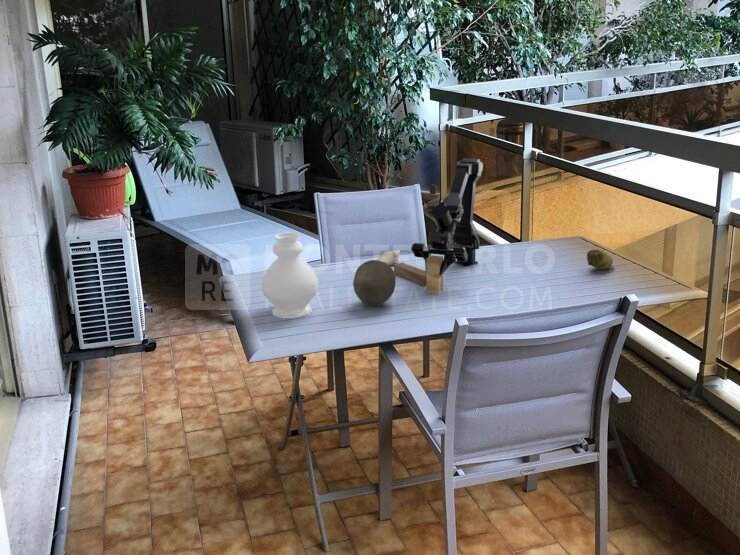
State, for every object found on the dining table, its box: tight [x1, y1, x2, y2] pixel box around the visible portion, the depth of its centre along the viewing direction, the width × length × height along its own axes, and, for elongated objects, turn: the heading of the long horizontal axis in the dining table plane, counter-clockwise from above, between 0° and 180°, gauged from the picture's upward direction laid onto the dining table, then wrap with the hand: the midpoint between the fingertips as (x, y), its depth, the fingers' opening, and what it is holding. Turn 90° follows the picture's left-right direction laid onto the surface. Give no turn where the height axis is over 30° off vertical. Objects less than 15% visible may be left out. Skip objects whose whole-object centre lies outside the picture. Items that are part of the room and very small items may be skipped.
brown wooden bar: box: [393, 262, 426, 286], centre depth 265 cm, size 4×18×4 cm, turn 34°
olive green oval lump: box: [586, 248, 614, 270], centre depth 269 cm, size 8×13×8 cm, turn 116°
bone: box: [376, 249, 401, 266], centre depth 277 cm, size 8×21×6 cm, turn 149°
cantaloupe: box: [352, 259, 397, 307], centre depth 237 cm, size 14×14×15 cm
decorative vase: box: [261, 232, 319, 320], centre depth 232 cm, size 18×18×25 cm
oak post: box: [425, 254, 444, 295], centre depth 250 cm, size 4×4×12 cm
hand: (433, 274), depth 248 cm, fingers closed on oak post, 4 cm apart
